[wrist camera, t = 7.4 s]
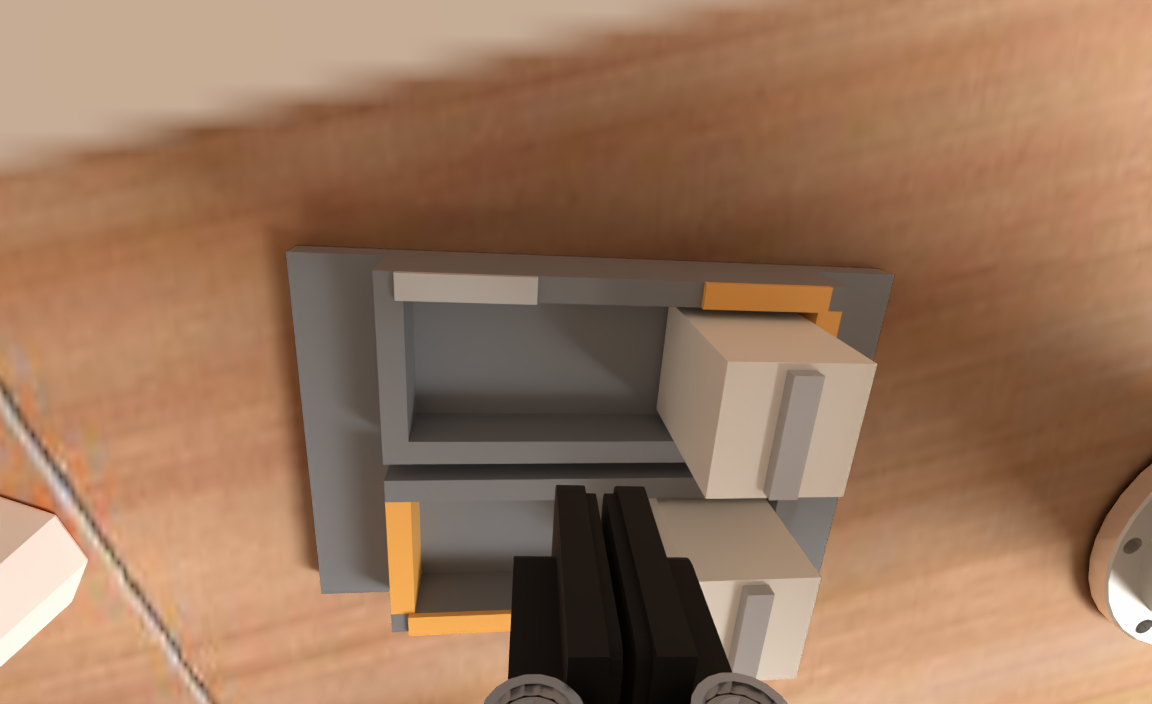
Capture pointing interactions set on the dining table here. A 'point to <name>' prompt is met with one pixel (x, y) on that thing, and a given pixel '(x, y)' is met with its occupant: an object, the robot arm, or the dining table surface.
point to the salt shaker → (33, 572)
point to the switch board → (507, 405)
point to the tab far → (745, 578)
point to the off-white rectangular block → (762, 402)
